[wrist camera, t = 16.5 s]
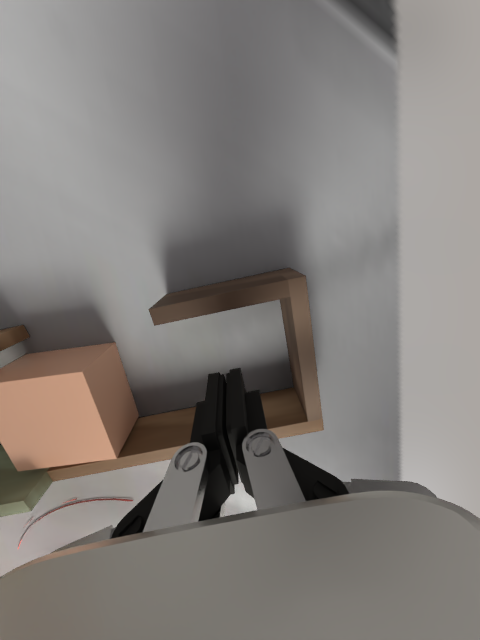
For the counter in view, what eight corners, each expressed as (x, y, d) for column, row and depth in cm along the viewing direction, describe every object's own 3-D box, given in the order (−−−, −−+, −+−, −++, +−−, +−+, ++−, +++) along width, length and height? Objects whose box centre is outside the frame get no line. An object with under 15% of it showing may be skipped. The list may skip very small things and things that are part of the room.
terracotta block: (139, 413, 21) (116, 458, 17) (61, 424, 21) (17, 471, 17) (116, 341, 19) (82, 371, 14) (28, 353, 19) (-33, 386, 14)
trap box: (306, 394, 20) (335, 454, 15) (-11, 456, 21) (-98, 535, 16) (265, 95, 14) (289, -7, 8) (-195, 206, 15) (-463, 185, 9)
